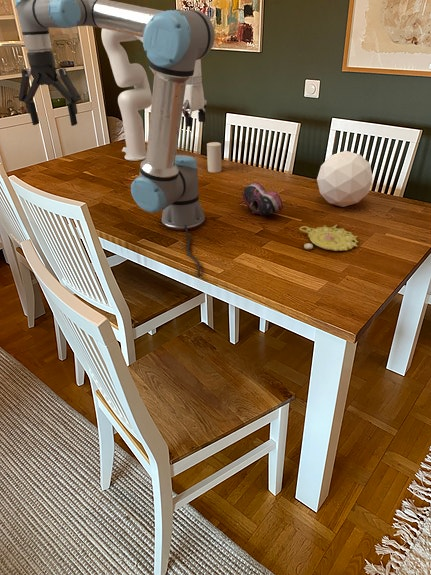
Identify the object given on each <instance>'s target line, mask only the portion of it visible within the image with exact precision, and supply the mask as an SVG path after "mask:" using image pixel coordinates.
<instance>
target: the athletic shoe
mask: <svg viewBox="0 0 431 575" xmlns="http://www.w3.org/2000/svg"><path fill="white" fill-rule="evenodd" d="M241 197H242V199H243V201H238V203H239V204H241V205H245V206H246V207H247V208H248V210H249V211H250V210H251V213H252V214H255V215H260V217H266V216H267V215H270V214H274V213H275V212H279V211H282V210H283V209H284V205H283V201H282V198H281V196H280V195H279V194H278V192H277V191H274V190H269V191H267V190H266V189H265V187H264V186H263V185H262V184H261V183H258V182H251V183H249V184H247V186H246V187H245V188H244V190H243V191H242V192H241Z"/></svg>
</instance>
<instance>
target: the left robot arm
mask: <svg viewBox="0 0 431 575" xmlns="http://www.w3.org/2000/svg"><path fill="white" fill-rule="evenodd" d="M100 34H101V42H102V45H103V47H104V49H105V52H106V54H107V58H108V59H109V64H110V68H111V70H112V75H113V77H114V81H115V83H116V85H117V86H118V87H119V88H130V87H133V88H132V89H127V90H124V91H122V92H120V93H119V95H118V96H117V104H118V107H119V111H120V114H121V118H122V126H123V134H124V139H125V140H124V141H125V146H123V148H122V149H121V152H122V153H125V155H124V159H125V160H126V161H130V162H138V161H144V160H145V159H146V155H147V146H146V140H145V130H144V121H143V118H142V116H141V114H140V113H139V111H142V110H146V109H148V108H151V104H152V94H153V93H152V91H151V87H150V82H149V79H148V75H147V72H146V70H145V68H144V67H143V65H141V64H140V63H138V62H135V63H131V62H130V60H129V56H128V54H127V51H126V49H125V48H124V47H123V45H121V43H122V42H123V43H124V42H133V41H134V42H135V41H138V40H139V41H140V42H141V43H143V37H138V36H134V35H129V34H125V33H121V32H116V31H112V30H107V29H103V28H101V33H100ZM201 60H202V58H201V59H198V60H196V62H195V68H194V74H193V76H192V77H191V78H190V79H188V80H187V82H186V89H185V96H184V103H183V110H182V115H183V117H184V121H185V122H184V123H185V127H190V128H192V127H193V116H192V114H193V112H195V111H198V112H197V116H198V122H199V123H205V122H206V108H207V102H208V101H207V99H206V98H205V95H204V88H203V80H202V79H203V78H202V77H203V76H202V61H201Z"/></svg>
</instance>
